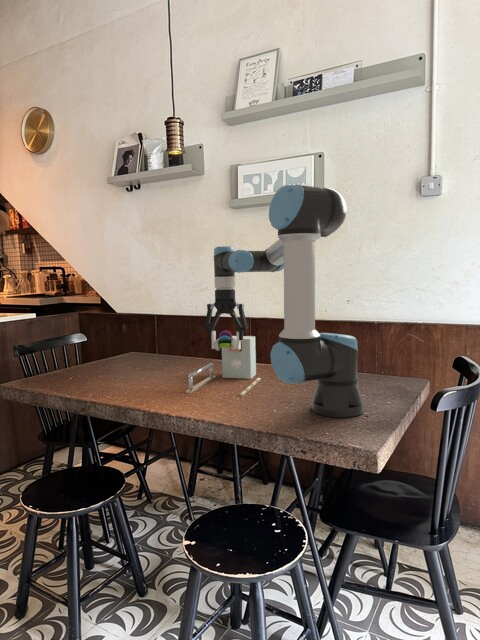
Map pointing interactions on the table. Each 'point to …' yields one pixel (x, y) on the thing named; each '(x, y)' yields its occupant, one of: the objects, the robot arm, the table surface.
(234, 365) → the cabinet
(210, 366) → the handrail
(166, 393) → the table surface
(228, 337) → the rainbow petal baby toy
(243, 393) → the cream square stick
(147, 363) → the table surface
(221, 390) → the table surface
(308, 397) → the table surface
